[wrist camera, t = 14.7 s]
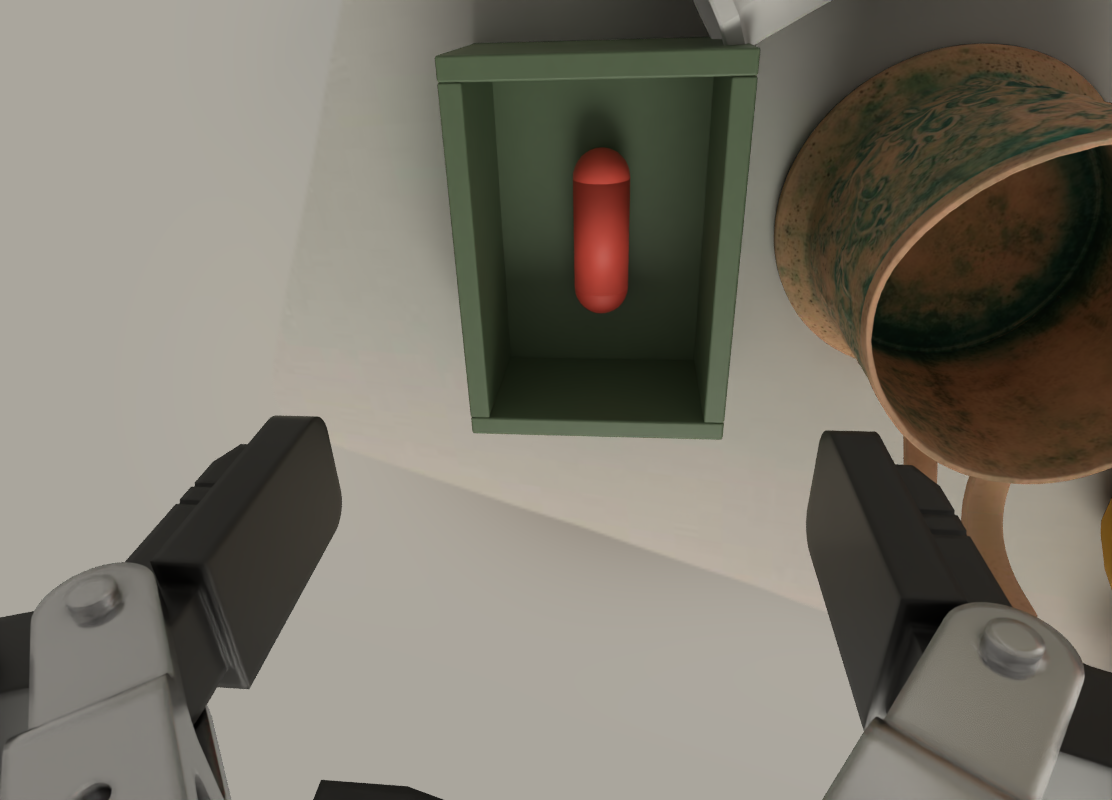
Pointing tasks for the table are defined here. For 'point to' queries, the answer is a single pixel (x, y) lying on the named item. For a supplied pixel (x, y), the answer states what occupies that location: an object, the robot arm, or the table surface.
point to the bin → (548, 230)
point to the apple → (1107, 541)
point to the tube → (751, 17)
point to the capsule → (601, 229)
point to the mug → (966, 267)
